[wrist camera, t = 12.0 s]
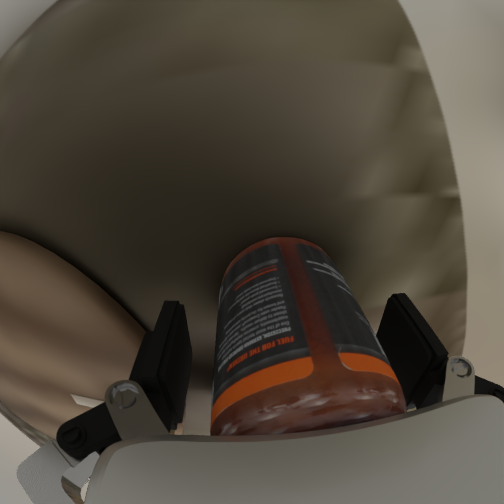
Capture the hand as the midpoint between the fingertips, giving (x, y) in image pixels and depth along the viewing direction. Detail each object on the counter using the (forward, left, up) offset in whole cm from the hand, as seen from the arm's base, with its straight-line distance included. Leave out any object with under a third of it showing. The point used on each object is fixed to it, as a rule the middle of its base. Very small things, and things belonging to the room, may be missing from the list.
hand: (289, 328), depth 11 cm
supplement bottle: (0, 0, -4) cm, 4 cm away
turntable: (-8, +18, -3) cm, 20 cm away
